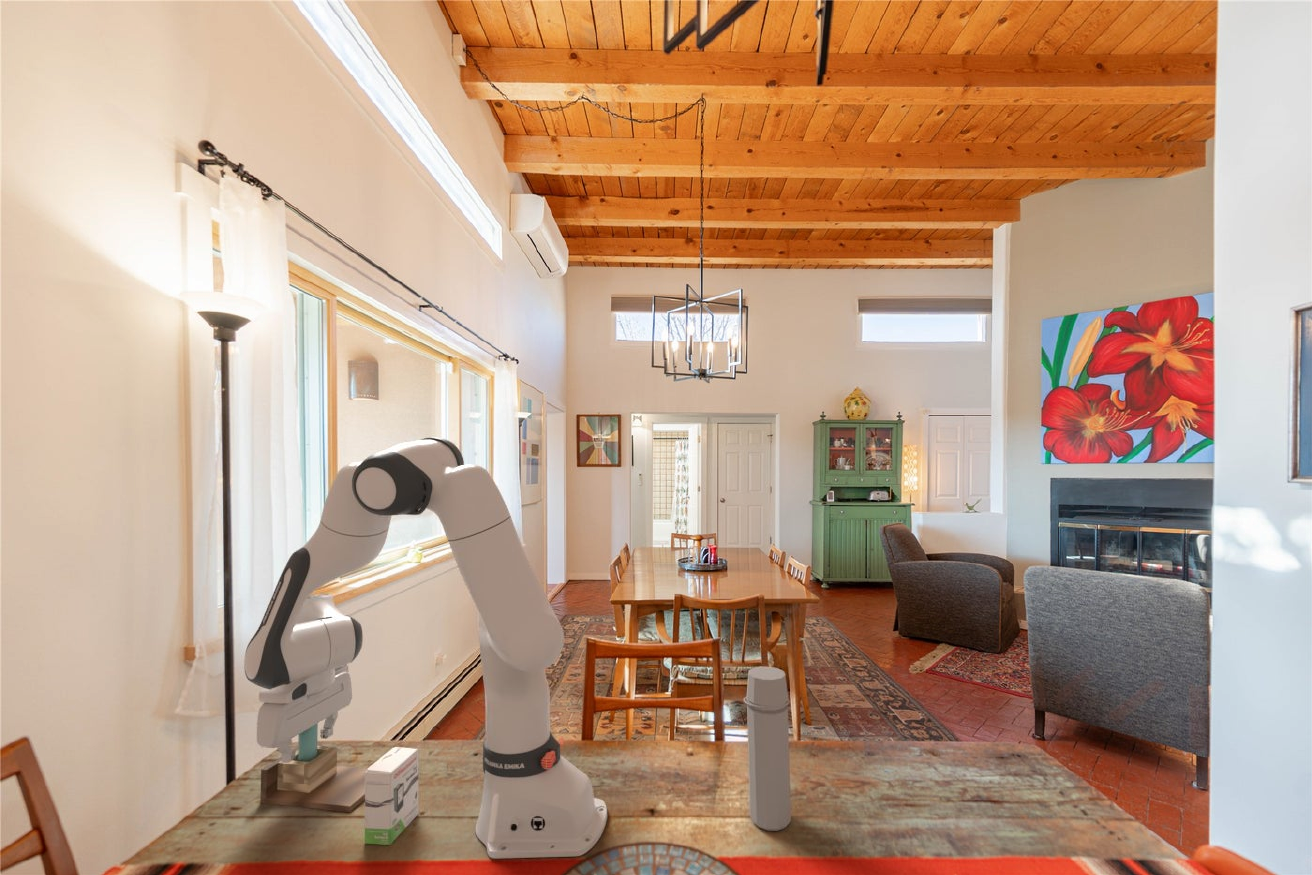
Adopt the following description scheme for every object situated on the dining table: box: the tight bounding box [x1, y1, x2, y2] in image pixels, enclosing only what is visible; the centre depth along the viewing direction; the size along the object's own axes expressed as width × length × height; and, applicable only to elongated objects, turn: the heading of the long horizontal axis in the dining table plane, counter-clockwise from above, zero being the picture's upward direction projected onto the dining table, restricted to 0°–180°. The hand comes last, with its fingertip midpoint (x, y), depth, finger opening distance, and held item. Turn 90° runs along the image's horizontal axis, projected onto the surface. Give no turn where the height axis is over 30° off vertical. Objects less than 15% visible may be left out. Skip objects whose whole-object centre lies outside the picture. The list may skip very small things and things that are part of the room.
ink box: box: [364, 746, 420, 846], centre depth 96 cm, size 9×5×12 cm, turn 172°
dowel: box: [297, 723, 319, 762], centre depth 110 cm, size 3×3×10 cm
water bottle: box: [743, 666, 792, 832], centre depth 98 cm, size 9×8×25 cm
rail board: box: [260, 746, 369, 813], centre depth 108 cm, size 19×12×6 cm, turn 80°
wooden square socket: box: [277, 745, 338, 793], centre depth 109 cm, size 7×7×5 cm
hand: (308, 748), depth 110 cm, fingers open, 8 cm apart
